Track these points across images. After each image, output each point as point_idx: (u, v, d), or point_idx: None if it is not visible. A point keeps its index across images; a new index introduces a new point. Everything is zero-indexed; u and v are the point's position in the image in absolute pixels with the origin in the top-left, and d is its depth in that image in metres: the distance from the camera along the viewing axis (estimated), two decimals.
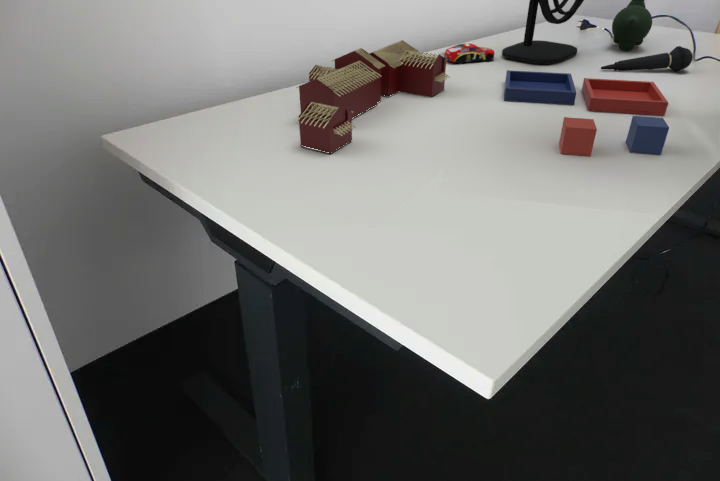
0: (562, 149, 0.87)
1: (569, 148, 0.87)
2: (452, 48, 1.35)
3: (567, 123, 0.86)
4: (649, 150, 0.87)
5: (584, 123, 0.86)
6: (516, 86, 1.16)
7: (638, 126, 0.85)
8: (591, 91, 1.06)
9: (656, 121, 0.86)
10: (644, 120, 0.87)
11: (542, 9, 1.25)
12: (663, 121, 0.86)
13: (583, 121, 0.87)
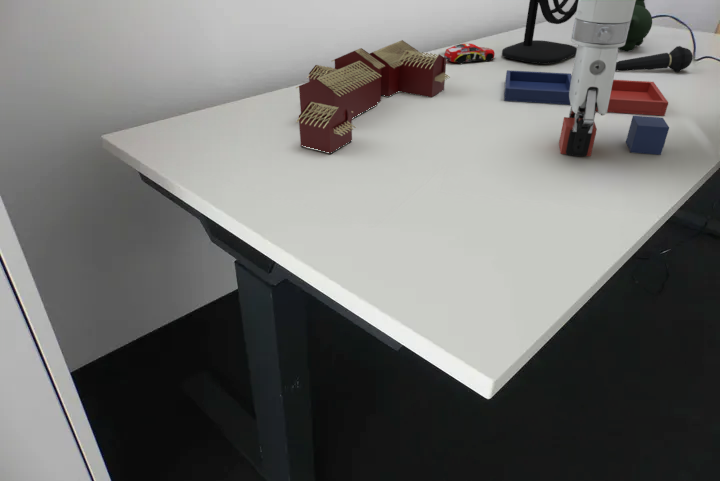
0: (562, 149, 0.87)
1: None
2: (452, 48, 1.35)
3: (567, 123, 0.86)
4: (649, 150, 0.87)
5: None
6: (516, 86, 1.16)
7: (638, 126, 0.85)
8: None
9: (656, 121, 0.86)
10: (644, 120, 0.87)
11: (542, 9, 1.25)
12: (663, 121, 0.86)
13: None
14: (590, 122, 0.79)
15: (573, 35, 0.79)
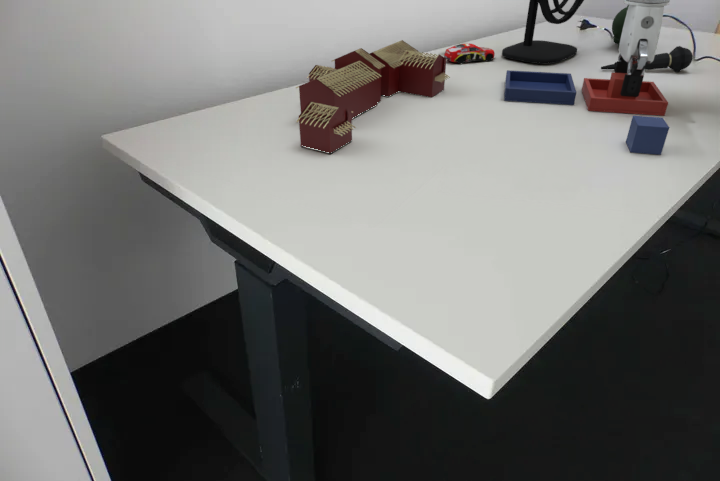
0: None
1: (617, 97, 1.06)
2: (452, 48, 1.35)
3: (615, 77, 1.05)
4: (649, 150, 0.87)
5: None
6: (516, 86, 1.16)
7: (638, 126, 0.85)
8: (591, 91, 1.06)
9: (656, 121, 0.86)
10: (644, 120, 0.87)
11: (542, 9, 1.25)
12: (663, 121, 0.86)
13: None
14: (645, 58, 0.96)
15: None
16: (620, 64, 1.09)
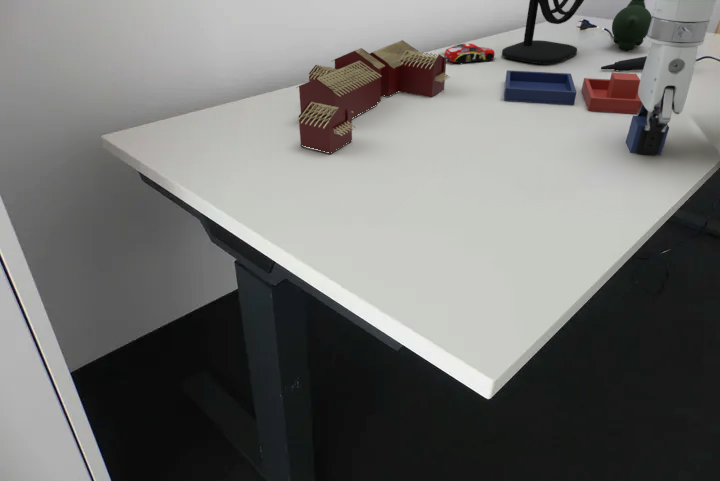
0: None
1: (617, 97, 1.06)
2: (452, 48, 1.35)
3: (615, 77, 1.05)
4: None
5: (629, 76, 1.05)
6: (516, 86, 1.16)
7: (638, 126, 0.85)
8: (591, 91, 1.06)
9: None
10: (644, 120, 0.87)
11: (542, 9, 1.25)
12: None
13: (628, 75, 1.06)
14: (667, 121, 0.79)
15: (650, 34, 0.79)
16: None
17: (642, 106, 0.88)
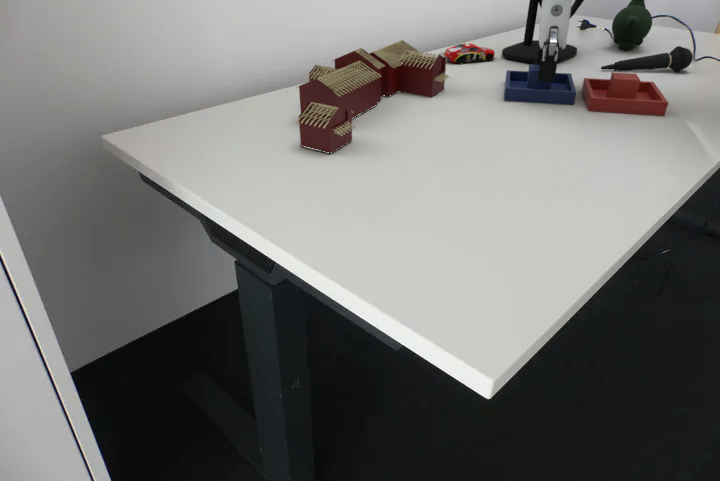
0: None
1: (617, 97, 1.06)
2: (452, 48, 1.35)
3: (615, 77, 1.05)
4: None
5: (629, 76, 1.05)
6: (516, 86, 1.16)
7: (530, 71, 1.10)
8: (591, 91, 1.06)
9: None
10: (536, 67, 1.12)
11: None
12: None
13: (628, 75, 1.06)
14: (554, 44, 1.01)
15: None
16: (541, 51, 1.14)
17: None
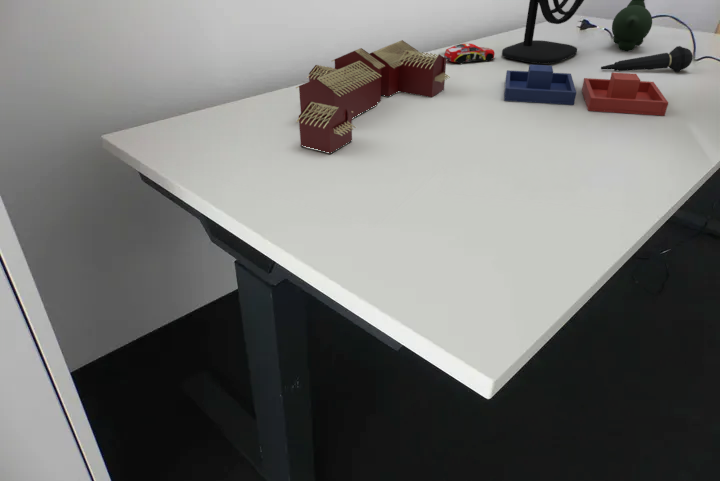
0: None
1: (617, 97, 1.06)
2: (452, 48, 1.35)
3: (615, 77, 1.05)
4: None
5: (629, 76, 1.05)
6: (516, 86, 1.16)
7: (530, 71, 1.10)
8: (591, 91, 1.06)
9: (545, 67, 1.11)
10: (536, 67, 1.12)
11: (542, 9, 1.25)
12: (550, 67, 1.11)
13: (628, 75, 1.06)
14: None
15: None
16: None
17: None
